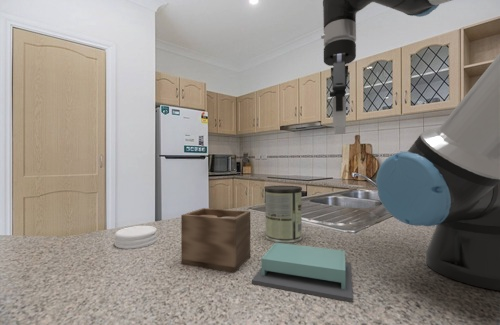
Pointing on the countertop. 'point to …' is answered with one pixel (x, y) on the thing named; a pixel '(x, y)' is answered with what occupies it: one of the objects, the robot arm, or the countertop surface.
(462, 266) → the robot arm
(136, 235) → the coaster
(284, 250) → the lid
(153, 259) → the countertop surface
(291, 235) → the coffee can
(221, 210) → the box
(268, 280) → the mat
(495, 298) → the countertop surface
